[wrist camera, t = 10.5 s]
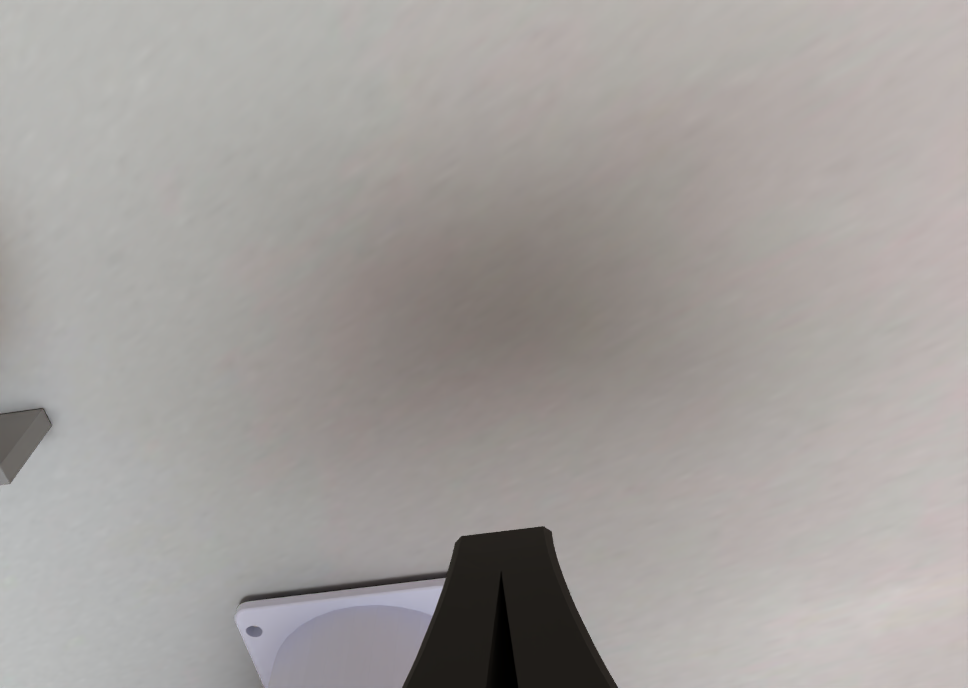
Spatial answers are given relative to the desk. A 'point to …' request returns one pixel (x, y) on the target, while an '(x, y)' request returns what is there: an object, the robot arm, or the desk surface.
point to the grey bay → (19, 440)
